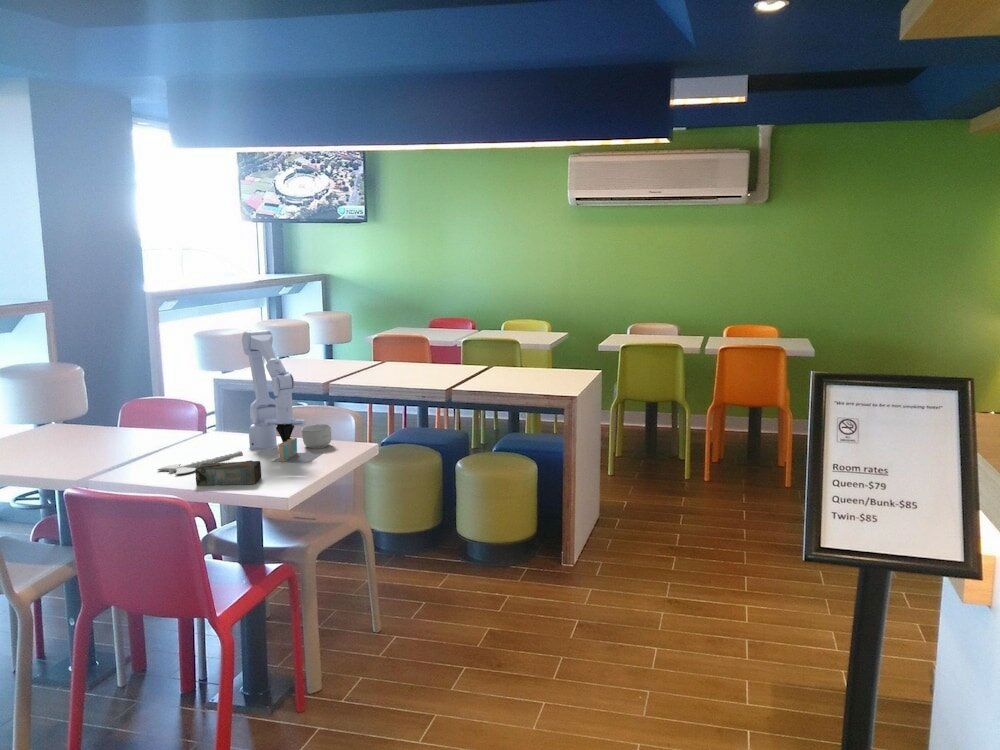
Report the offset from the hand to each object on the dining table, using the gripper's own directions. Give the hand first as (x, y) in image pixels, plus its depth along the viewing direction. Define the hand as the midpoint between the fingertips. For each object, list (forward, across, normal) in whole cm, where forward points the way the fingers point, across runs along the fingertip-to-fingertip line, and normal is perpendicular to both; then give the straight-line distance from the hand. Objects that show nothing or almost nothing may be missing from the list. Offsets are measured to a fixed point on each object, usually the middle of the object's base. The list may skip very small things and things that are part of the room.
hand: (286, 445), depth 305 cm
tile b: (+4, +2, -7) cm, 8 cm away
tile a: (+4, +2, 0) cm, 4 cm away
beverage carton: (+5, -5, -35) cm, 36 cm away
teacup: (+4, +6, +16) cm, 17 cm away
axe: (+5, -24, -14) cm, 28 cm away
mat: (+4, +6, -3) cm, 8 cm away
